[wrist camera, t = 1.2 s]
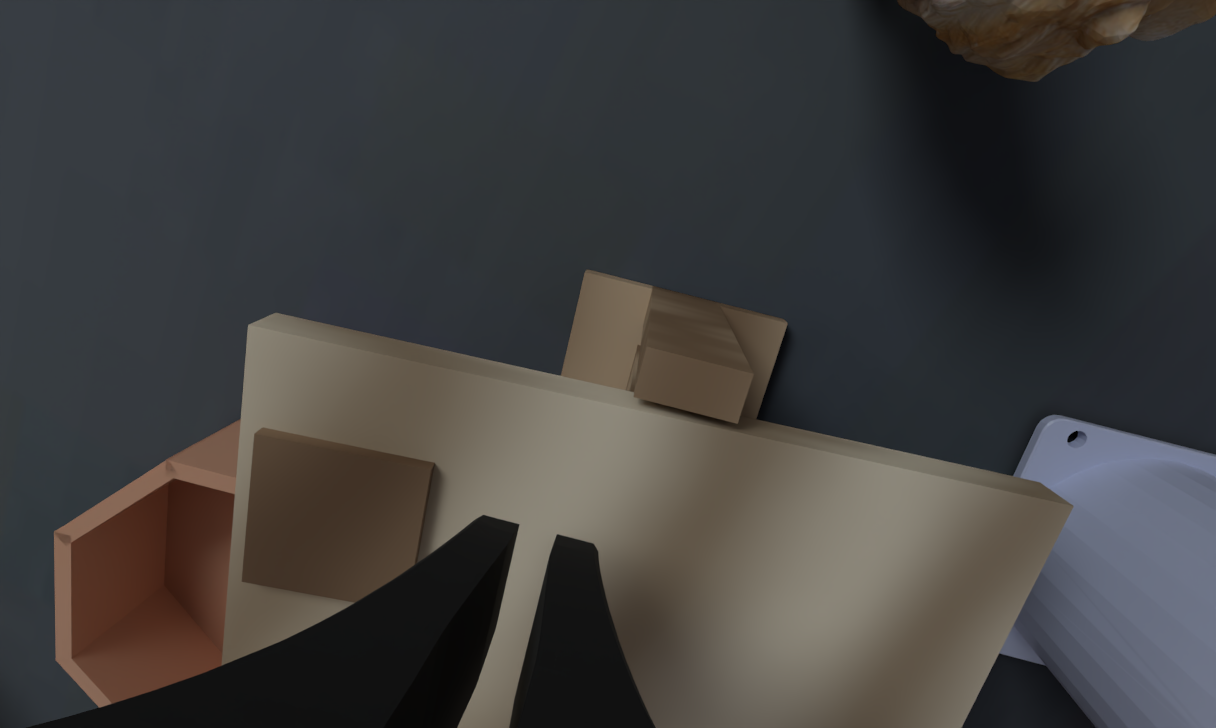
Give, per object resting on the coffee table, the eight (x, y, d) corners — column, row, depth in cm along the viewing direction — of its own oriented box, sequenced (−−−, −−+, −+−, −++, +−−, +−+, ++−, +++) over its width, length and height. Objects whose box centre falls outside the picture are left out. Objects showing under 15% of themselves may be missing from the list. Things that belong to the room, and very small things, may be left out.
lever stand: (783, 319, 19) (860, 401, 11) (638, 763, 23) (627, 1017, 16) (587, 269, 19) (540, 319, 11) (482, 722, 24) (403, 957, 16)
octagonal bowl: (485, 468, 21) (445, 531, 17) (433, 726, 24) (389, 830, 20) (164, 385, 21) (51, 429, 17) (153, 652, 24) (56, 740, 20)
